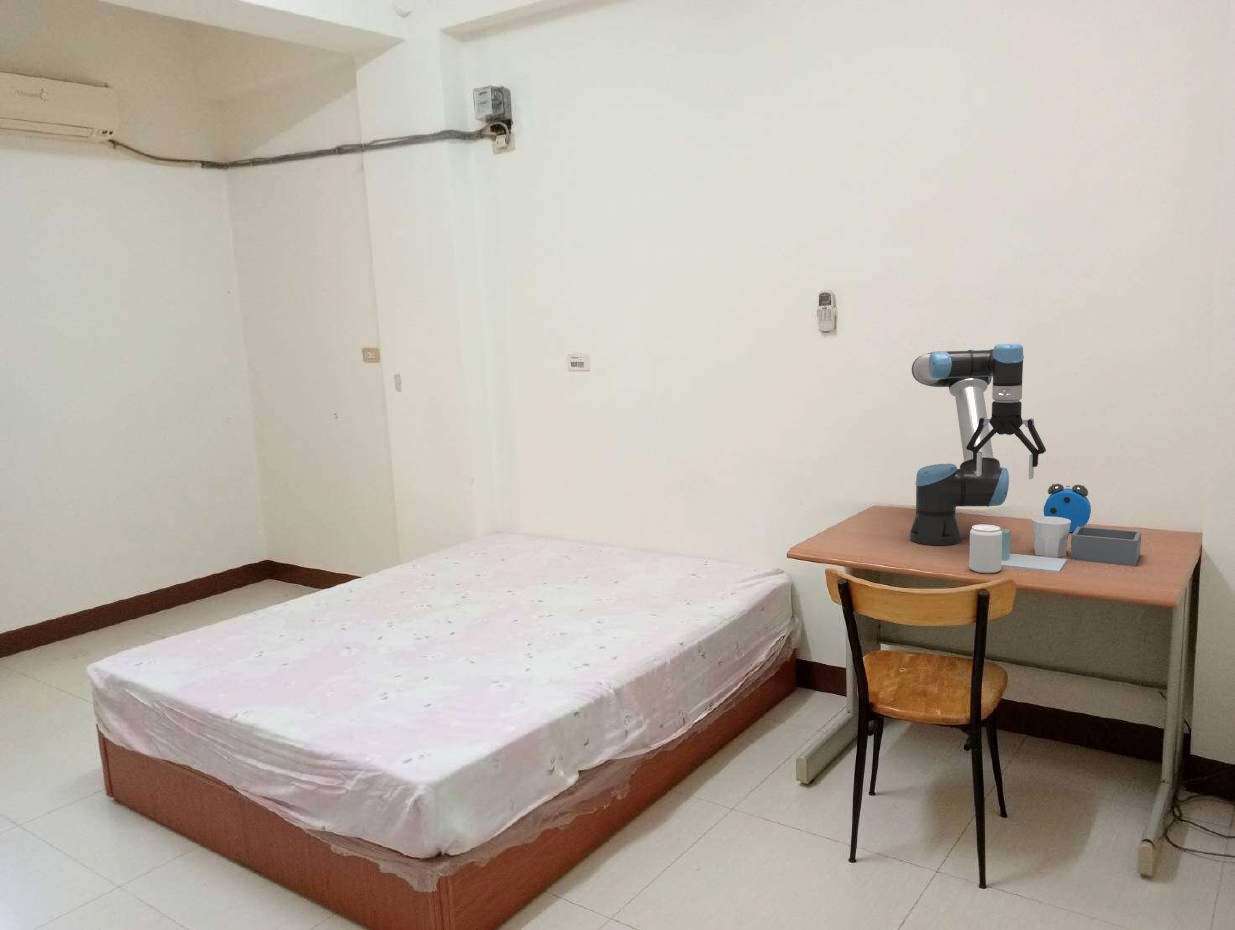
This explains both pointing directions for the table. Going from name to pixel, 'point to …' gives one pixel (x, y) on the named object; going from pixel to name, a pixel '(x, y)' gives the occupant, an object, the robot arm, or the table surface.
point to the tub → (1106, 545)
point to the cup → (1050, 536)
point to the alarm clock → (1068, 504)
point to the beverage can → (985, 548)
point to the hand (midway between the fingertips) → (1004, 476)
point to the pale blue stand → (1028, 558)
